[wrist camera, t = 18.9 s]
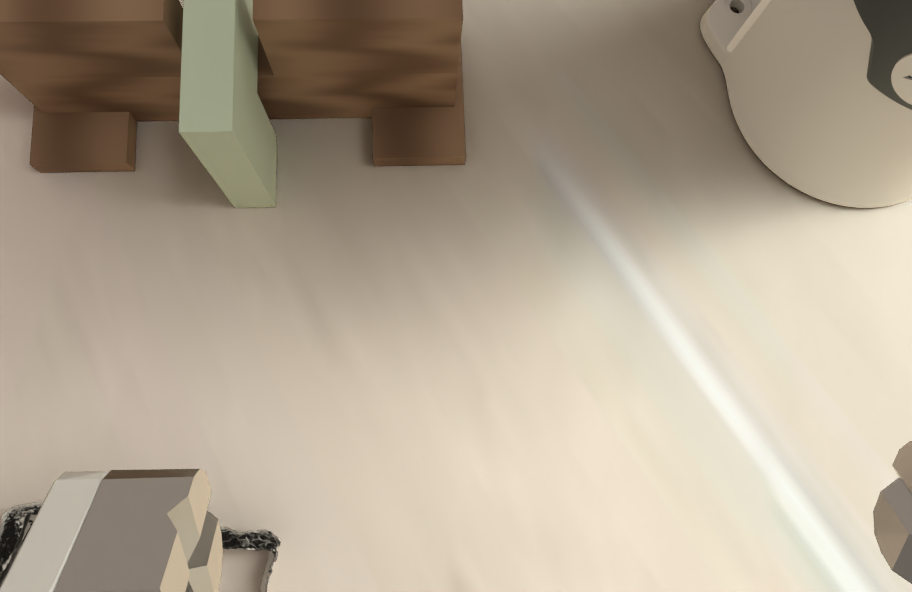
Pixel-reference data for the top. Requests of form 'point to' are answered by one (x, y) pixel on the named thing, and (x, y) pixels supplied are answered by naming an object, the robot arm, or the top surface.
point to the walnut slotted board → (279, 73)
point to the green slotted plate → (226, 101)
